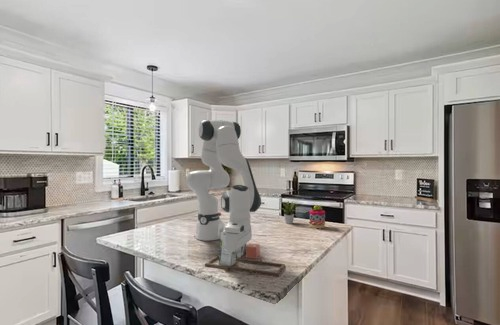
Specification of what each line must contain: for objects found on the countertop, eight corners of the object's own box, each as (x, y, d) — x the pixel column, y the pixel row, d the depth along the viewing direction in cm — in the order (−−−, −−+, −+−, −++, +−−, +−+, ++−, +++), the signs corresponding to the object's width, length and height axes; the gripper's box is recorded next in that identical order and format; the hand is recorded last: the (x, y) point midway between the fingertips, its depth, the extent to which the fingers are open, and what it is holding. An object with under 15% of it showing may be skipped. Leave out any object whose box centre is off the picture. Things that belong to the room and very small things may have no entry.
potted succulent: (306, 226, 191) (306, 204, 191) (318, 224, 196) (318, 203, 196) (315, 229, 182) (315, 206, 182) (328, 228, 186) (328, 205, 186)
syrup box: (224, 260, 125) (226, 228, 124) (236, 263, 123) (238, 230, 122) (218, 265, 119) (220, 231, 119) (231, 267, 117) (233, 233, 117)
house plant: (293, 226, 190) (293, 202, 190) (275, 224, 197) (275, 200, 197) (302, 222, 202) (302, 200, 202) (284, 220, 209) (284, 198, 209)
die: (249, 253, 135) (249, 242, 135) (259, 255, 133) (259, 243, 133) (246, 257, 130) (246, 245, 130) (256, 258, 128) (256, 246, 128)
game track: (218, 256, 132) (218, 254, 132) (286, 264, 120) (286, 262, 120) (202, 267, 118) (202, 265, 118) (277, 278, 106) (277, 276, 106)
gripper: (242, 218, 131) (242, 247, 131) (223, 228, 111) (222, 263, 112) (255, 219, 128) (255, 249, 129) (237, 230, 109) (237, 265, 110)
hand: (239, 256), depth 120 cm, fingers closed
